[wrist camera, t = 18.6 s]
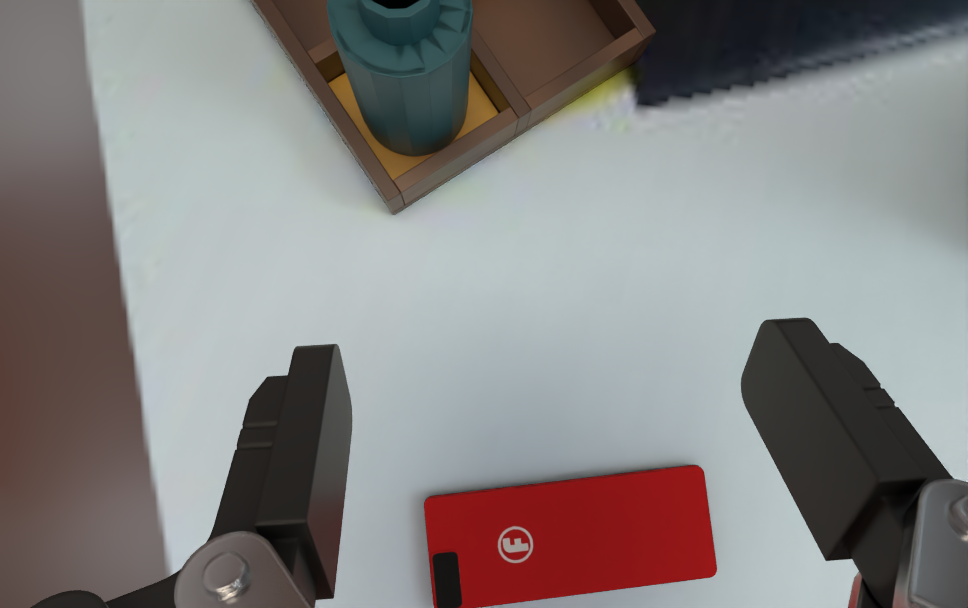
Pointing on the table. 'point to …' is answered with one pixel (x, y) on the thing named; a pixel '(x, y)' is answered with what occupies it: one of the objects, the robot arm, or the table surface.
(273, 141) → the table surface
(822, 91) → the table surface
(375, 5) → the bottle
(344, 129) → the compartment tray
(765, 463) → the table surface
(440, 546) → the electronic device
